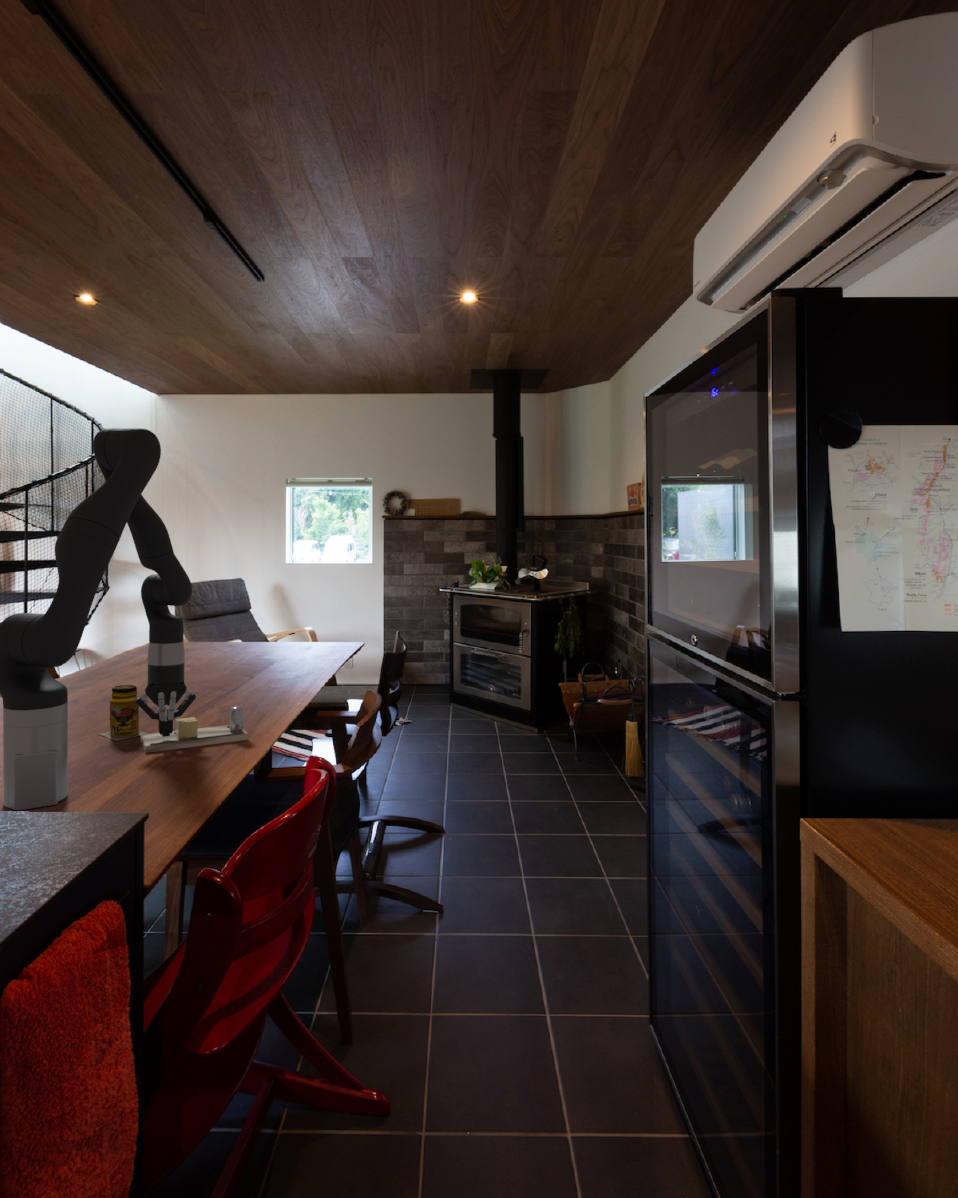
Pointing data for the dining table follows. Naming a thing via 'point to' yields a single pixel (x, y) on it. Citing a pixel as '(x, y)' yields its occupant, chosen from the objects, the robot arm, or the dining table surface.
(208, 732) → the board
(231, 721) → the silver cylinder with leg
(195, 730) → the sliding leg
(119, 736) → the condiment
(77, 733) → the dining table surface
